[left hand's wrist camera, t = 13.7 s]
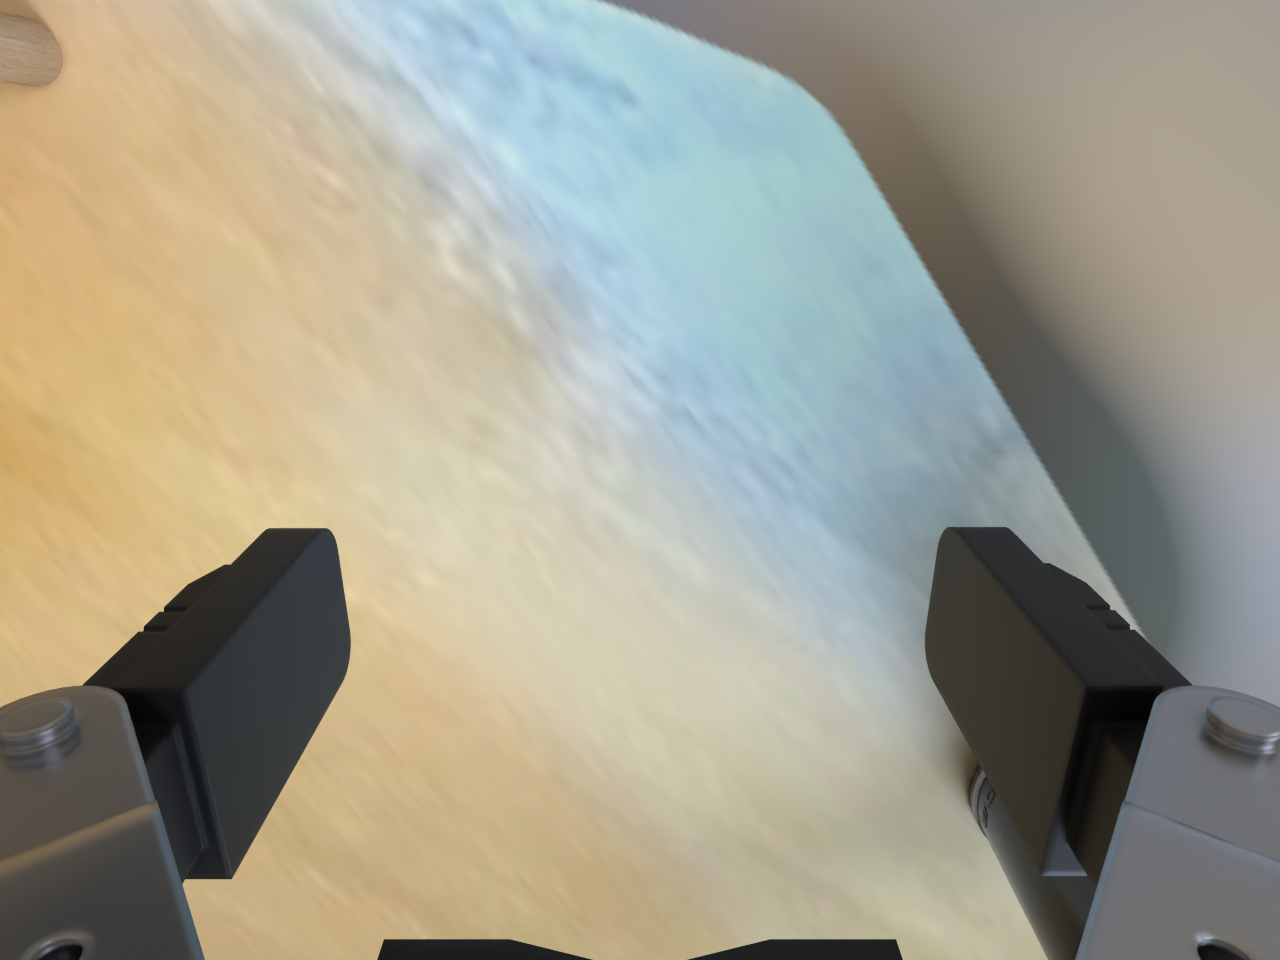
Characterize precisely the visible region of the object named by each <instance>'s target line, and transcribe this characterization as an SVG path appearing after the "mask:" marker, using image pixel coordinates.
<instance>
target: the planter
mask: <svg viewBox="0 0 1280 960" xmlns="http://www.w3.org/2000/svg"><path fill="white" fill-rule="evenodd" d="M61 68H62V53H61V49H60V46H59V44H58V42H57V40H56V38H55V37H54V35H53V34H52V33H51V32H50V31H49V30H48V29H47V28H46V27H45V26H44V25H42V24H41V23H39V22H38V21H35V20H33V19H30V18H25V17H21V16H16V15H12V14H7V13H3V12H0V82H8V83H17V84H26V85H35V86H42V85H46V84H49V83H51V82H52V81H54V80H55V79H56V78H57V76H58V75H59V73H60V71H61Z"/></svg>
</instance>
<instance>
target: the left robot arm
mask: <svg viewBox="0 0 1280 960" xmlns="http://www.w3.org/2000/svg"><path fill="white" fill-rule="evenodd" d="M350 647H351V639H350V628H349V622H348V615H347V608H346V601H345V595H344V588H343V581H342V574H341V568H340V561H339V554H338V548H337V543H336V540H335V537H334V535H333V534H332V532H331V531H330V530H329V529H327V528H269V529H266V530H265V531H264V532H263V533H262V534H261V535H260V536H259V537H258V538H257V539H256V540H255V541H254V542H253V543H252V544H251V545H250V546H249V547H248V548H247V549H246V550H245V551H244V552H243V553H242V554H241V555H240V556H239V557H238V558H237V559H236V560H235V561H234V562H233V563H232V564H231V565H223V566H222V567H220V568H218V569H216V570H214V571H212V572H210V573H208V574H207V575H205V576H203V577H201V578H199V579H197V580H195V581H193V582H192V583H190V584H188V585H187V586H186V587H185V588H184V589H183V590H182V591H181V592H180V593H179V594H177V595H176V596H175V597H174V598H173V599H172V600H171V601H170V602H169V603H168V604H167V605H166V606H165V607H164V612H159V613H158V614H157V615H155V616H154V617H153V618H152V619H151V620H150V621H149V622H148V623H147V624H146V625H145V626H144V631H143V632H138V633H137V634H136V635H135V636H133V637H132V638H131V639H130V640H129V641H128V642H127V643H126V644H125V645H124V646H123V647H122V648H121V649H120V650H119V651H118V652H117V653H116V654H115V655H114V656H113V657H111V658H110V659H109V660H108V661H107V662H106V663H105V664H104V665H103V666H102V667H101V668H100V669H99V670H98V671H97V672H96V673H95V674H94V675H93V676H92V677H91V678H89V679H88V680H87V681H86V682H85V683H84V684H83V685H82V686H72V687H63V688H58V689H53V690H48V691H45V692H41V693H37V694H33V695H31V696H28V697H25V698H22V699H19V700H16V701H14V702H12V703H9V704H7V705H4V706H2V707H0V960H205V959H204V956H203V952H202V949H201V946H200V942H199V939H198V936H197V932H196V929H195V926H194V922H193V919H192V916H191V912H190V909H189V906H188V902H187V899H186V896H185V892H184V889H183V886H182V883H183V882H184V880H185V879H232V878H233V876H234V874H235V872H236V870H237V869H238V867H239V865H240V863H241V862H242V860H243V858H244V856H245V854H246V853H247V851H248V849H249V847H250V846H251V844H252V842H253V840H254V838H255V837H256V835H257V833H258V831H259V830H260V828H261V826H262V824H263V822H264V821H265V819H266V817H267V815H268V814H269V812H270V810H271V808H272V806H273V805H274V803H275V801H276V799H277V798H278V796H279V794H280V792H281V790H282V789H283V787H284V785H285V783H286V782H287V780H288V778H289V776H290V774H291V773H292V771H293V769H294V767H295V766H296V764H297V762H298V760H299V758H300V757H301V755H302V753H303V751H304V750H305V748H306V746H307V744H308V743H309V741H310V739H311V737H312V735H313V734H314V732H315V730H316V728H317V727H318V725H319V723H320V721H321V719H322V718H323V716H324V714H325V712H326V711H327V709H328V707H329V705H330V703H331V702H332V700H333V698H334V696H335V695H336V693H337V691H338V689H339V687H340V686H341V684H342V682H343V680H344V678H345V675H346V672H347V668H348V664H349V658H350ZM925 651H926V659H927V664H928V668H929V672H930V675H931V677H932V679H933V681H934V683H935V685H936V687H937V689H938V690H939V692H940V694H941V696H942V698H943V699H944V701H945V703H946V705H947V707H948V708H949V710H950V712H951V714H952V716H953V717H954V719H955V721H956V723H957V725H958V726H959V728H960V730H961V732H962V734H963V735H964V737H965V739H966V741H967V743H968V744H969V746H970V748H971V750H972V752H973V753H974V755H975V757H976V759H977V761H978V762H979V764H980V766H979V768H978V770H977V771H976V774H975V776H974V778H973V781H972V785H971V790H970V803H971V809H972V812H973V815H974V817H975V819H976V821H977V823H978V825H979V827H980V829H981V831H982V832H983V834H984V835H985V836H986V838H987V839H988V841H989V843H990V845H991V847H992V849H993V851H994V853H995V855H996V857H997V859H998V861H999V863H1000V865H1001V867H1002V869H1003V871H1004V873H1005V875H1006V877H1007V879H1008V881H1009V883H1010V885H1011V887H1012V889H1013V891H1014V893H1015V895H1016V897H1017V899H1018V901H1019V903H1020V905H1021V907H1022V909H1023V911H1024V913H1025V915H1026V917H1027V919H1028V921H1029V923H1030V924H1031V926H1032V928H1033V930H1034V932H1035V934H1036V936H1037V938H1038V940H1039V942H1040V944H1041V946H1042V948H1043V950H1044V952H1045V954H1046V956H1047V958H1048V960H1280V707H1278V706H1276V705H1273V704H1271V703H1268V702H1266V701H1264V700H1261V699H1258V698H1255V697H1252V696H1249V695H1247V694H1243V693H1239V692H1235V691H1232V690H1227V689H1222V688H1216V687H1208V686H1193V685H1192V684H1191V683H1190V682H1189V681H1188V680H1187V679H1186V678H1184V676H1182V675H1181V674H1180V673H1179V672H1178V671H1177V670H1176V669H1175V668H1174V667H1173V666H1172V665H1171V664H1170V663H1169V662H1168V661H1167V660H1166V659H1165V658H1164V657H1163V656H1162V655H1161V654H1160V653H1159V652H1158V651H1157V650H1155V649H1154V648H1153V647H1152V646H1151V645H1150V644H1149V643H1148V642H1147V641H1146V640H1145V639H1144V638H1143V637H1142V636H1141V635H1140V634H1139V633H1138V632H1137V631H1136V630H1130V625H1129V624H1128V623H1127V622H1126V621H1125V620H1124V619H1123V618H1122V617H1121V616H1120V615H1119V614H1118V613H1117V612H1116V611H1115V610H1110V605H1109V604H1108V603H1107V602H1106V601H1105V600H1104V599H1102V598H1101V597H1100V596H1099V595H1098V594H1097V593H1096V592H1095V591H1094V590H1093V589H1092V588H1091V587H1090V586H1089V585H1088V584H1087V583H1086V582H1084V581H1082V580H1080V579H1078V578H1076V577H1074V576H1072V575H1071V574H1069V573H1067V572H1065V571H1063V570H1061V569H1059V568H1058V567H1056V566H1054V565H1052V564H1050V563H1043V562H1042V561H1041V560H1040V559H1039V558H1038V557H1037V556H1036V555H1035V554H1034V553H1033V552H1032V551H1031V550H1030V549H1029V548H1028V547H1027V546H1026V545H1025V544H1024V543H1023V542H1022V541H1021V540H1020V539H1019V538H1018V537H1017V536H1016V535H1015V534H1014V533H1013V532H1012V531H1011V530H1010V529H1009V528H1006V527H948V528H946V529H945V530H944V531H943V533H942V535H941V537H940V540H939V544H938V549H937V556H936V563H935V570H934V576H933V583H932V590H931V597H930V604H929V611H928V617H927V624H926V632H925ZM378 960H591V959H587V958H583V957H579V956H575V955H571V954H567V953H563V952H559V951H555V950H551V949H547V948H542V947H538V946H534V945H530V944H526V943H522V942H518V941H514V940H510V939H384V941H383V944H382V947H381V950H380V953H379V957H378ZM689 960H902V957H901V953H900V950H899V947H898V944H897V941H896V939H770V940H766V941H762V942H758V943H754V944H750V945H746V946H742V947H738V948H733V949H729V950H725V951H721V952H717V953H713V954H709V955H705V956H701V957H697V958H693V959H689Z"/></svg>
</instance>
